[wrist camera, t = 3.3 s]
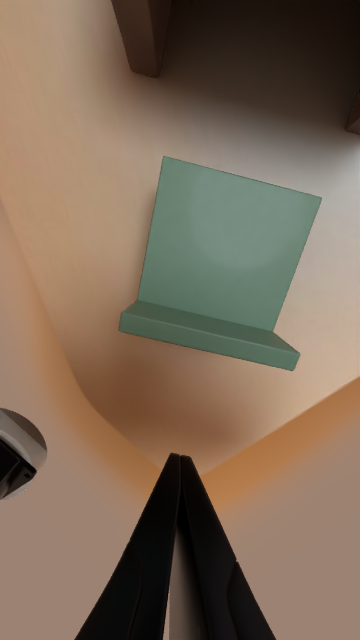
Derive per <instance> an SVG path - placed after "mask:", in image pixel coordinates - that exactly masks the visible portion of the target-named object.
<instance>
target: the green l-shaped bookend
mask: <svg viewBox="0 0 360 640" xmlns="http://www.w3.org/2000/svg"><path fill="white" fill-rule="evenodd" d="M321 200H322V198H321V197H318V196H314V195H310V194H306V193H302V192H299V191H295V190H291V189H287V188H283V187H280V186H276V185H272V184H268V183H264V182H261V181H257V180H253V179H249V178H245V177H242V176H238V175H234V174H230V173H226V172H223V171H219V170H215V169H211V168H207V167H203V166H200V165H196V164H192V163H188V162H184V161H181V160H177V159H173V158H169V157H165V156H164V157H163V161H162V166H161V172H160V177H159V183H158V188H157V194H156V199H155V205H154V210H153V216H152V221H151V226H150V232H149V237H148V243H147V248H146V254H145V259H144V265H143V270H142V276H141V281H140V287H139V292H138V298H137V301H135V302H134V303H133V304H132V305H130V306H129V307H128V308H127V309H125V310H124V311H123V312H122V313H121V317H120V324H119V331H120V332H124V333H128V334H133V335H137V336H141V337H146V338H150V339H155V340H159V341H163V342H168V343H172V344H176V345H181V346H185V347H190V348H194V349H198V350H203V351H207V352H212V353H216V354H220V355H225V356H229V357H233V358H238V359H242V360H247V361H251V362H255V363H260V364H264V365H268V366H273V367H277V368H282V369H286V370H290V371H293V370H294V368H295V366H296V364H297V361H298V359H299V357H300V353H299V352H298V351H296V350H295V349H294V348H293V347H291V346H290V345H289V344H287V343H286V342H285V341H284V340H282V339H281V338H280V337H279V336H277V335H276V334H275V333H274V332H273V329H274V327H275V324H276V321H277V319H278V316H279V313H280V311H281V308H282V305H283V302H284V300H285V297H286V294H287V292H288V289H289V286H290V284H291V281H292V278H293V276H294V273H295V270H296V268H297V265H298V262H299V259H300V257H301V254H302V251H303V249H304V246H305V243H306V241H307V238H308V235H309V233H310V230H311V227H312V224H313V222H314V219H315V216H316V214H317V211H318V208H319V206H320V203H321Z"/></svg>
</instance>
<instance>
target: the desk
mask: <svg viewBox="0 0 360 640" xmlns="http://www.w3.org/2000/svg"><path fill="white" fill-rule="evenodd" d="M111 1H112V5H113V8H114V12H115V15H116V19H117V23H118V26H119V30H120V33H121V37H122V40H123V44H124V47H125V51H126V54H127V58H128V62H129V65H130V69H131V70H132V71H135V72H138V73H142V74H146V75H149V76H153V77H157V78H159V76H160V70H161V64H162V58H163V52H164V45H165V39H166V33H167V27H168V21H169V15H170V9H171V3H172V0H111ZM345 130H346V131H350V132H354V133H357V134H360V90H359V93H358V96H357V98H356V101H355V104H354V106H353V109H352V112H351V114H350V117H349V120H348V123H347V125H346V128H345Z"/></svg>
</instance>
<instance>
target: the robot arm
mask: <svg viewBox="0 0 360 640" xmlns="http://www.w3.org/2000/svg"><path fill="white" fill-rule="evenodd" d="M36 474H37V470H36V469H35V468H34V467H33V466H32V465H31V464H30V463H29V462H27V461H26V460H25V459H24V458H23V457H22V456H21V455H19V454H18V453H17V452H16V451H15V450H14V449H12V448H11V447H10V446H9V445H8V444H7V443H6V442H4V441H3V440H2V439H1V438H0V500H1V499H3V498H4V497H6V496H7V495H9V494H10V493H12V492H14V491H15V490H17V489H18V488H20V487H21V486H23V485H24V484H26V483H27V482H29V481H30V480H32V479H33V478H34V476H35V475H36ZM169 585H170V620H169V623H170V624H169V629H170V630H169V640H276V638H275V636H274V634H273V633H272V631H271V629H270V627H269V625H268V623H267V621H266V619H265V617H264V615H263V613H262V612H261V610H260V608H259V606H258V604H257V602H256V600H255V598H254V595H253V593H252V591H251V589H250V587H249V585H248V583H247V581H246V579H245V577H244V574H243V572H242V570H241V567H240V565H239V563H238V562H236V557H235V554H234V552H233V550H232V548H231V545H230V543H229V541H228V539H227V537H226V534H225V532H224V530H223V528H222V525H221V523H220V521H219V519H218V516H217V514H216V512H215V510H214V508H213V505H212V503H211V501H210V499H209V497H208V494H207V492H206V490H205V488H204V485H203V483H202V481H201V479H200V476H199V474H198V472H197V470H196V468H195V465H194V463H193V461H192V459H191V457H190V456H185V455H181V456H180V455H179V454H175V453H170V455H169V457H168V459H167V461H166V463H165V466H164V468H163V470H162V472H161V474H160V477H159V478H158V481H157V483H156V485H155V487H154V489H153V491H152V493H151V495H150V497H149V500H148V502H147V504H146V506H145V508H144V510H143V512H142V514H141V517H140V519H139V521H138V523H137V525H136V527H135V529H134V532H133V534H132V536H131V538H130V541H129V542H128V544H127V546H126V548H125V550H124V552H123V554H122V557H121V559H120V561H119V563H118V565H117V567H116V569H115V570H114V572H113V574H112V576H111V578H110V580H109V582H108V584H107V585H106V587H105V589H104V591H103V593H102V594H101V596H100V598H99V599H98V601H97V603H96V604H95V607H94V608H93V609H92V611H91V613H90V614H89V616H88V618H87V619H86V621H85V623H84V624H83V626H82V628H81V629H80V631H79V633H78V635H77V636H76V638H75V639H74V640H163V633H164V625H165V617H166V608H167V601H168V593H169Z"/></svg>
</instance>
